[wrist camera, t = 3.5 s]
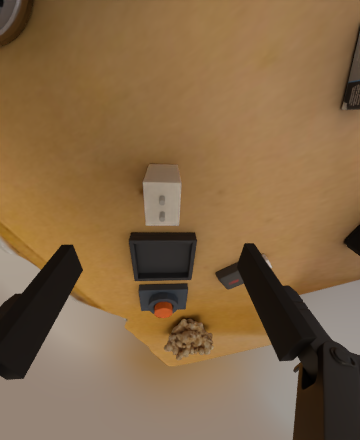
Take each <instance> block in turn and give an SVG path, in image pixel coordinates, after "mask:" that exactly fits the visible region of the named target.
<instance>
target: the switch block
mask: <svg viewBox="0 0 360 440" xmlns="http://www.w3.org/2000/svg"><path fill="white" fill-rule="evenodd" d="M187 293H188V285H187V284H150V285H139V297H140V304H141V311H151V312H152V313H153V314H154V309H155V305H156V304H157V303H159V302H169V303H171V304H172V313H174V312H175V311H176V310H177V309H186V301H187Z"/></svg>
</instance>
